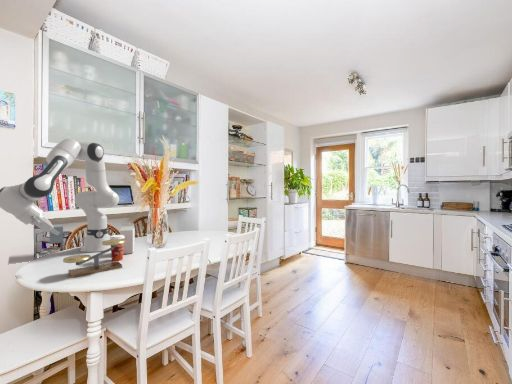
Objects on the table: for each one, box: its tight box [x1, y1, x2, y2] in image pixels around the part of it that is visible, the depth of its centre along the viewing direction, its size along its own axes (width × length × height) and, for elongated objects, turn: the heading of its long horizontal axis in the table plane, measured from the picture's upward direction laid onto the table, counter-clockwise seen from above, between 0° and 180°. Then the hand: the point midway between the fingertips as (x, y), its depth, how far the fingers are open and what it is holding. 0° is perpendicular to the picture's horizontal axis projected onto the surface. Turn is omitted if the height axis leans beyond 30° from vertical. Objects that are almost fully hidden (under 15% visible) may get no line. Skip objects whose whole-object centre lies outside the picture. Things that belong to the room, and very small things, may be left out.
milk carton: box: [119, 222, 136, 255], centre depth 160 cm, size 7×7×19 cm
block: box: [48, 224, 64, 244], centre depth 126 cm, size 5×5×8 cm
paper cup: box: [110, 234, 125, 262], centre depth 145 cm, size 8×8×14 cm
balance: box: [62, 239, 126, 279], centre depth 127 cm, size 11×27×14 cm, turn 133°
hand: (57, 233), depth 126 cm, fingers closed on block, 5 cm apart
